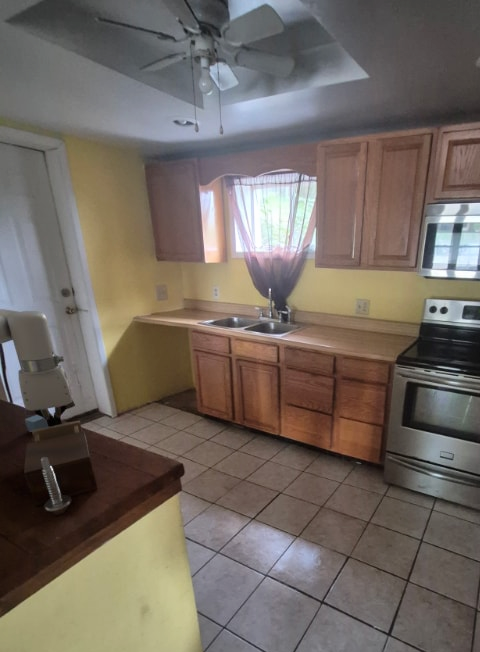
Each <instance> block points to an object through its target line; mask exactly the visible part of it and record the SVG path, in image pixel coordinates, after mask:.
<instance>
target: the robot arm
mask: <svg viewBox="0 0 480 652" xmlns="http://www.w3.org/2000/svg"><path fill="white" fill-rule="evenodd" d="M10 341H12V343H13V346H14V349H15V352H16V356H17V360H18V363H19V367H20V369H19V370H18V371H17V373H18V383H19V389H20V394H21V399H22V402H23V405H24V409H25V410H24V414H25V415H27V416H31V415H32V416H35V415H39V416H41V417H43V418H44V419H45V420H47V423H48V427H50V426H55V425H60V424H63V422H62V415H63V414H64V413H65V411H66V410H69V409H72V408H74V407H75V406H76V402H75V400H73V399H74V398H73V396H72V395H73V394H72V390H71V387H70V384H69V380H68V377H67V374H66V371H65V369H64V367H63V366H62V364H60V363H63V362H65V359H64V356H62V355H61V356H60V355H56V351H55V346H54V342H53V338H52V333H51V330H50V326H49V322H48V317H47V316H46V315H45V313H43V312H41V311H37V310H23V311H17V310H12V309H6V308H4V309H3V308H0V345H1V344H4V343H9V342H10ZM52 408H54V413H53V415H52V413H50V410H49V409H52Z"/></svg>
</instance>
